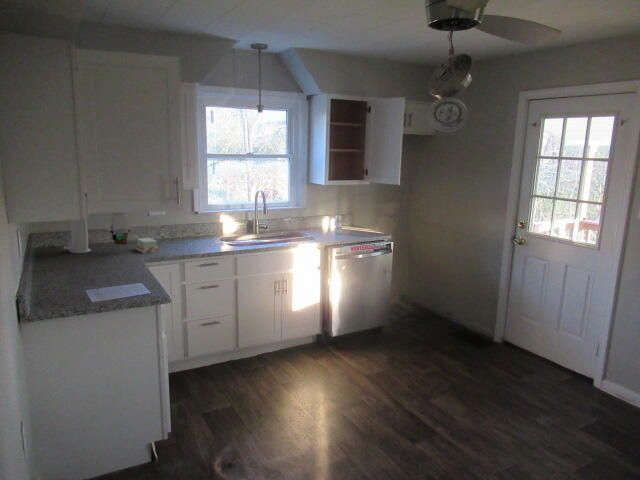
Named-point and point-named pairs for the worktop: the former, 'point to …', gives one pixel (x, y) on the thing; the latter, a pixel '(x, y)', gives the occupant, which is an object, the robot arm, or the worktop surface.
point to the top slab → (146, 242)
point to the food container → (121, 236)
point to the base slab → (146, 249)
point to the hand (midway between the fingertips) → (119, 239)
